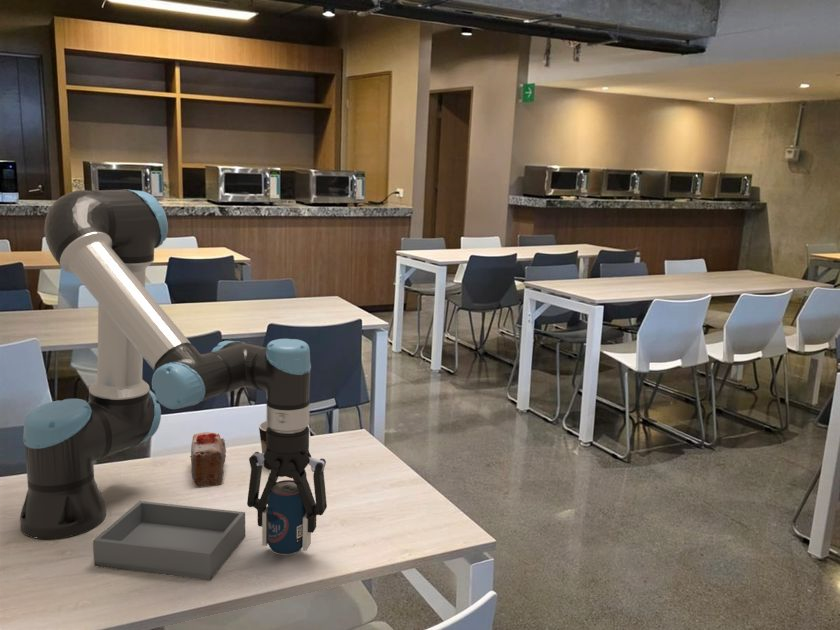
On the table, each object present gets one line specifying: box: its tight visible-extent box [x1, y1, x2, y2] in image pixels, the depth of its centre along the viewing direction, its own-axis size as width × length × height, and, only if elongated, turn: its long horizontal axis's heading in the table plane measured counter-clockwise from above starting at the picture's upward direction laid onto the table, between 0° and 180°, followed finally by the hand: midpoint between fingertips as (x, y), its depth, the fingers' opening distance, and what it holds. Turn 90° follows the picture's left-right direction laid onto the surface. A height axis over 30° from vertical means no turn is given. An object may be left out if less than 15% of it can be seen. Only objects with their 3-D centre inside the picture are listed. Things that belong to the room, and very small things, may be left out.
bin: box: [92, 500, 246, 582], centre depth 132 cm, size 22×16×5 cm
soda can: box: [267, 479, 306, 556], centre depth 131 cm, size 7×7×12 cm
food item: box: [189, 431, 227, 488], centre depth 165 cm, size 14×8×10 cm, turn 19°
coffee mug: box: [258, 420, 271, 471], centre depth 170 cm, size 12×9×10 cm
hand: (286, 544), depth 132 cm, fingers closed on soda can, 7 cm apart
